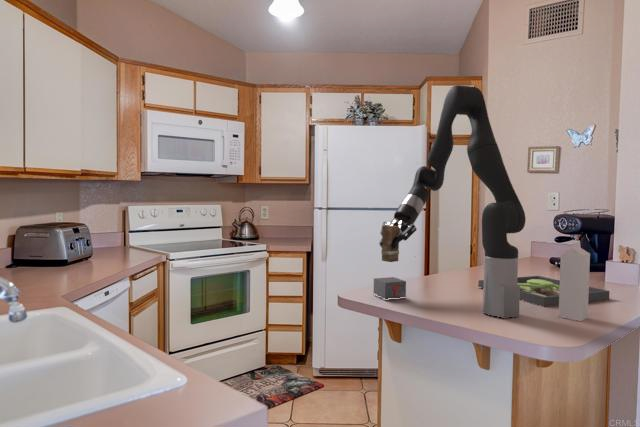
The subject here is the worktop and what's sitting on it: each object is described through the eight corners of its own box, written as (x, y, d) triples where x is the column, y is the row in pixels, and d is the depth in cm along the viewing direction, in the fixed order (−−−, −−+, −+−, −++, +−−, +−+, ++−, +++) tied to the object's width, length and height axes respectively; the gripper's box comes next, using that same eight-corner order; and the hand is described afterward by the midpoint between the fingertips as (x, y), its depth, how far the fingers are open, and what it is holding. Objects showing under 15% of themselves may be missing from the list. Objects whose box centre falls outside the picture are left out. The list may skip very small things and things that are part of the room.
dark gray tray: (609, 299, 153) (609, 291, 153) (543, 306, 142) (544, 297, 142) (537, 283, 181) (537, 275, 181) (478, 288, 170) (478, 280, 170)
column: (398, 261, 153) (399, 226, 152) (390, 262, 150) (391, 226, 149) (389, 259, 156) (389, 225, 155) (381, 260, 153) (381, 225, 152)
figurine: (516, 302, 150) (517, 285, 150) (504, 286, 176) (504, 272, 175) (577, 305, 145) (578, 288, 145) (555, 288, 171) (556, 274, 171)
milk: (587, 318, 130) (591, 242, 129) (580, 321, 126) (584, 244, 125) (565, 313, 134) (568, 240, 133) (557, 317, 130) (561, 242, 129)
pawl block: (406, 299, 151) (406, 281, 150) (385, 300, 148) (385, 282, 148) (393, 293, 158) (393, 277, 158) (373, 295, 156) (373, 278, 155)
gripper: (389, 202, 162) (365, 237, 155) (421, 203, 151) (398, 241, 144) (397, 216, 166) (375, 251, 158) (430, 218, 155) (408, 256, 148)
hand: (386, 246), depth 151 cm, fingers closed on column, 4 cm apart
